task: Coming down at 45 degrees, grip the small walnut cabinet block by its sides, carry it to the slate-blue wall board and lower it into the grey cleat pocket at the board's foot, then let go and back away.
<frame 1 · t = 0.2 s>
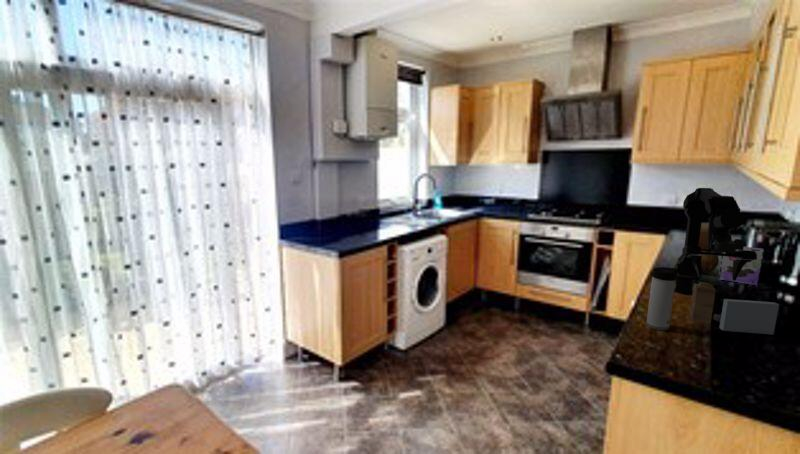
hand: (716, 278, 128), 15 cm above the countertop, tool tilted 15°, fingers open, 9 cm apart
candy box: (737, 282, 176), on the countertop
wall board: (736, 325, 128), on the countertop
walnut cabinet: (699, 319, 133), on the countertop
travel mug: (658, 327, 127), on the countertop
butternut squash: (698, 273, 190), on the countertop
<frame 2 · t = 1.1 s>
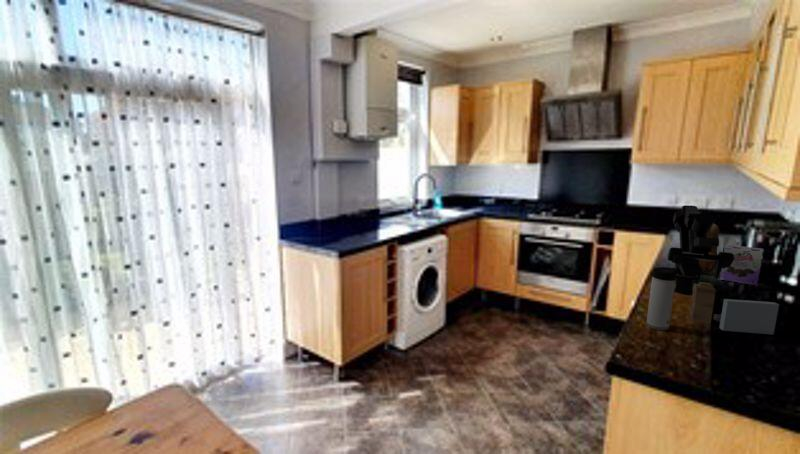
hand: (700, 276, 137), 13 cm above the countertop, tool tilted 45°, fingers open, 9 cm apart
nothing on the countertop moved.
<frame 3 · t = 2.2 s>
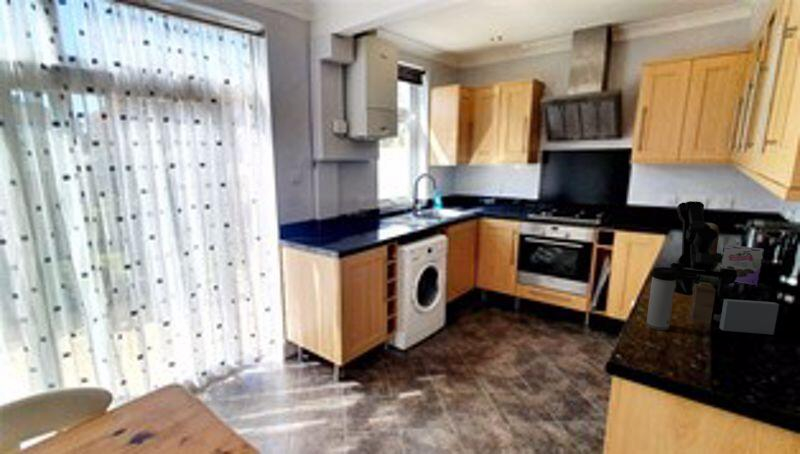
hand: (702, 293, 132), 9 cm above the countertop, tool tilted 45°, fingers open, 9 cm apart
nothing on the countertop moved.
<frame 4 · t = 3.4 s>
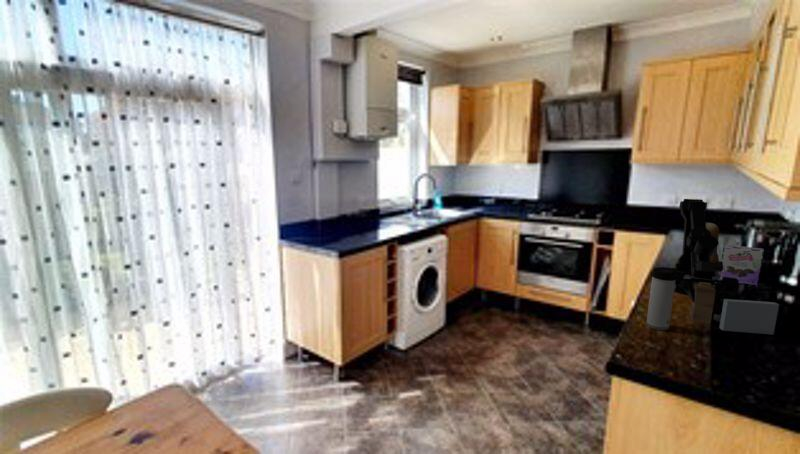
hand: (703, 302, 130), 7 cm above the countertop, tool tilted 45°, fingers closed on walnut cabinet, 5 cm apart
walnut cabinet: (699, 319, 133), on the countertop, touching gripper
everything else where it was.
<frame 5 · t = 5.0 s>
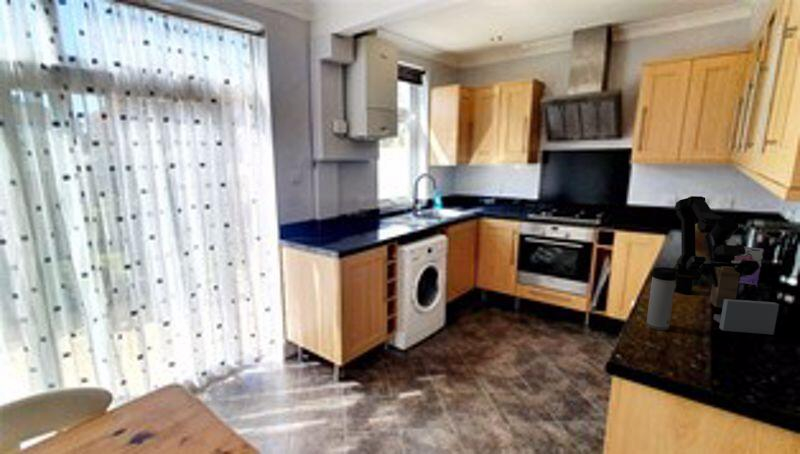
hand: (726, 287, 127), 13 cm above the countertop, tool tilted 45°, fingers closed on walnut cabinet, 5 cm apart
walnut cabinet: (721, 305, 129), point 6 cm above the countertop, touching gripper
everything else where it was.
when the fingers open (8 cm above the countertop, at t = 6.8 s): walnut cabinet drops 2 cm, resting in wall board.
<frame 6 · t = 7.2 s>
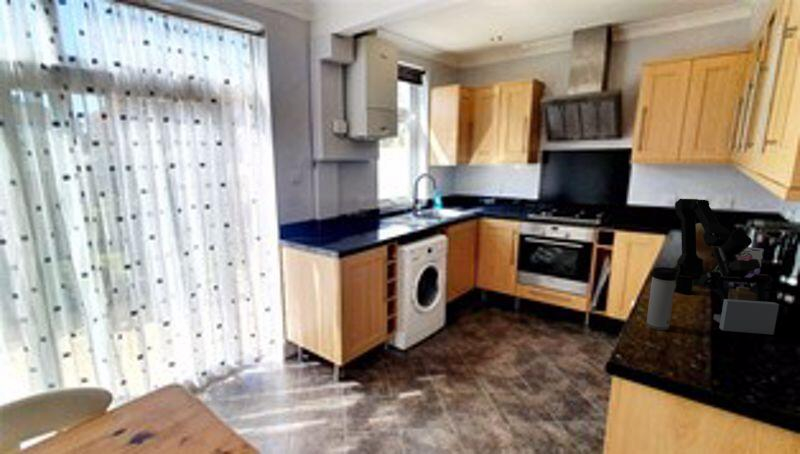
hand: (743, 303, 126), 8 cm above the countertop, tool tilted 45°, fingers open, 9 cm apart
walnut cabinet: (736, 325, 128), resting in wall board
everything else where it was.
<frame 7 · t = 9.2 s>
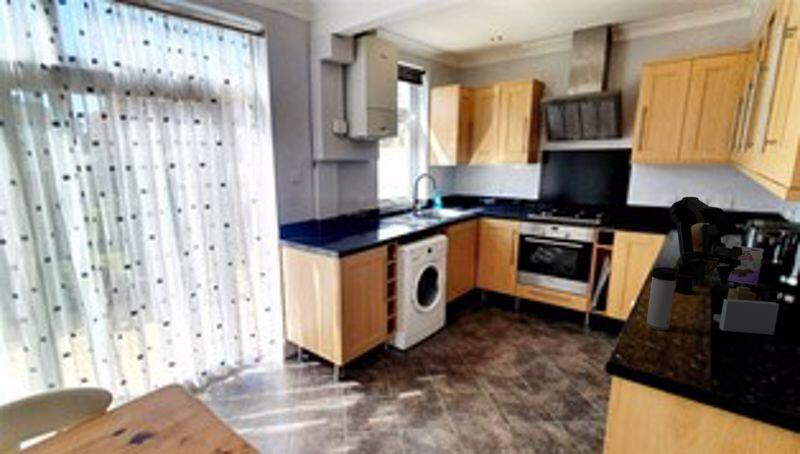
hand: (713, 283, 138), 11 cm above the countertop, tool tilted 25°, fingers open, 9 cm apart
nothing on the countertop moved.
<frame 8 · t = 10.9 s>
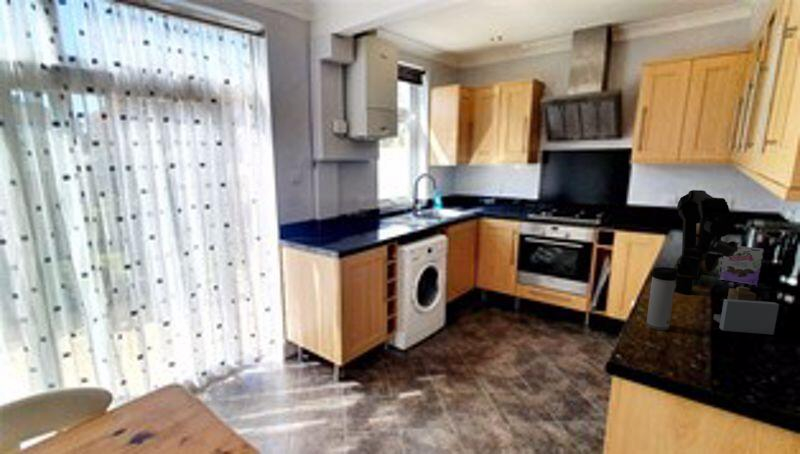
hand: (702, 273, 142), 13 cm above the countertop, tool pointing down, fingers open, 9 cm apart
nothing on the countertop moved.
at the end: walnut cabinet 0.0 cm from the wall board (horizontally); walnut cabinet tilted 0°; the gripper is holding nothing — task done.
